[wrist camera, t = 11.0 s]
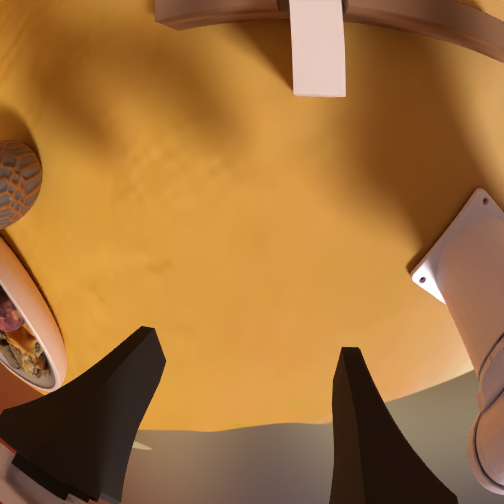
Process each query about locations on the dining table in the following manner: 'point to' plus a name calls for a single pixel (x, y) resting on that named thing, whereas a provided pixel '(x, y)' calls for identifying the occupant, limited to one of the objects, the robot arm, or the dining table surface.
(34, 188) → the vase
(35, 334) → the bowl
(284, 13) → the walnut rail
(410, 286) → the dining table surface
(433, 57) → the dining table surface
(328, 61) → the notched white slab
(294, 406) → the dining table surface
